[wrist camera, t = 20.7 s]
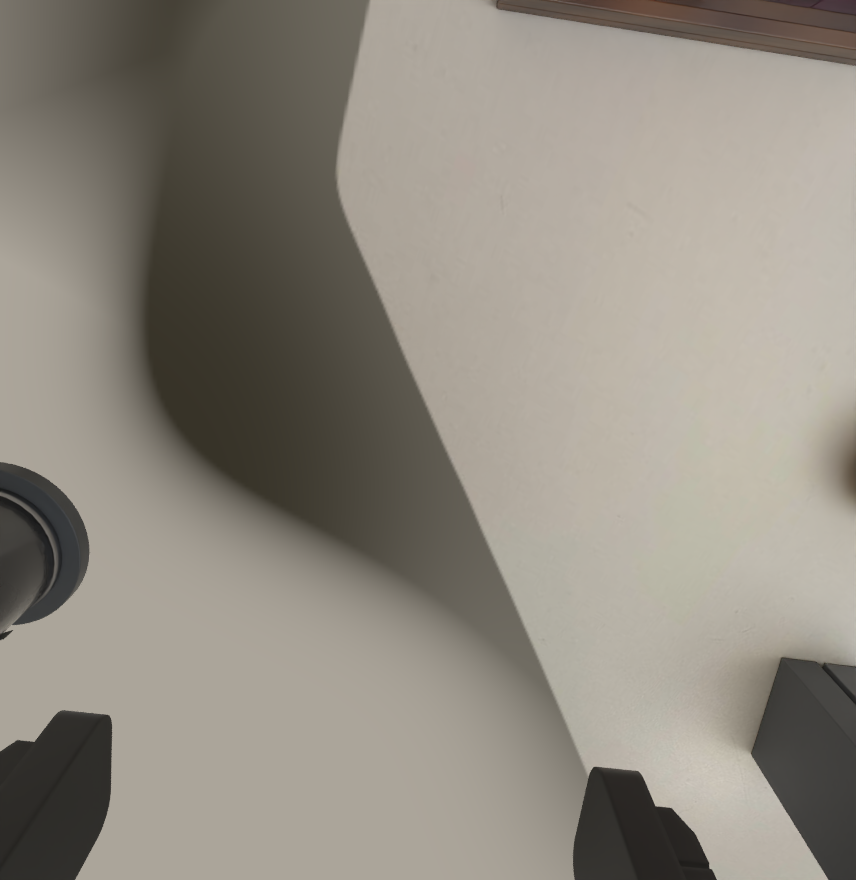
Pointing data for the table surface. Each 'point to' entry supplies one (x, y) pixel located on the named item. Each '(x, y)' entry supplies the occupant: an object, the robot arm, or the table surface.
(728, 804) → the table surface
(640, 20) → the book rack
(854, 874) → the grey books
